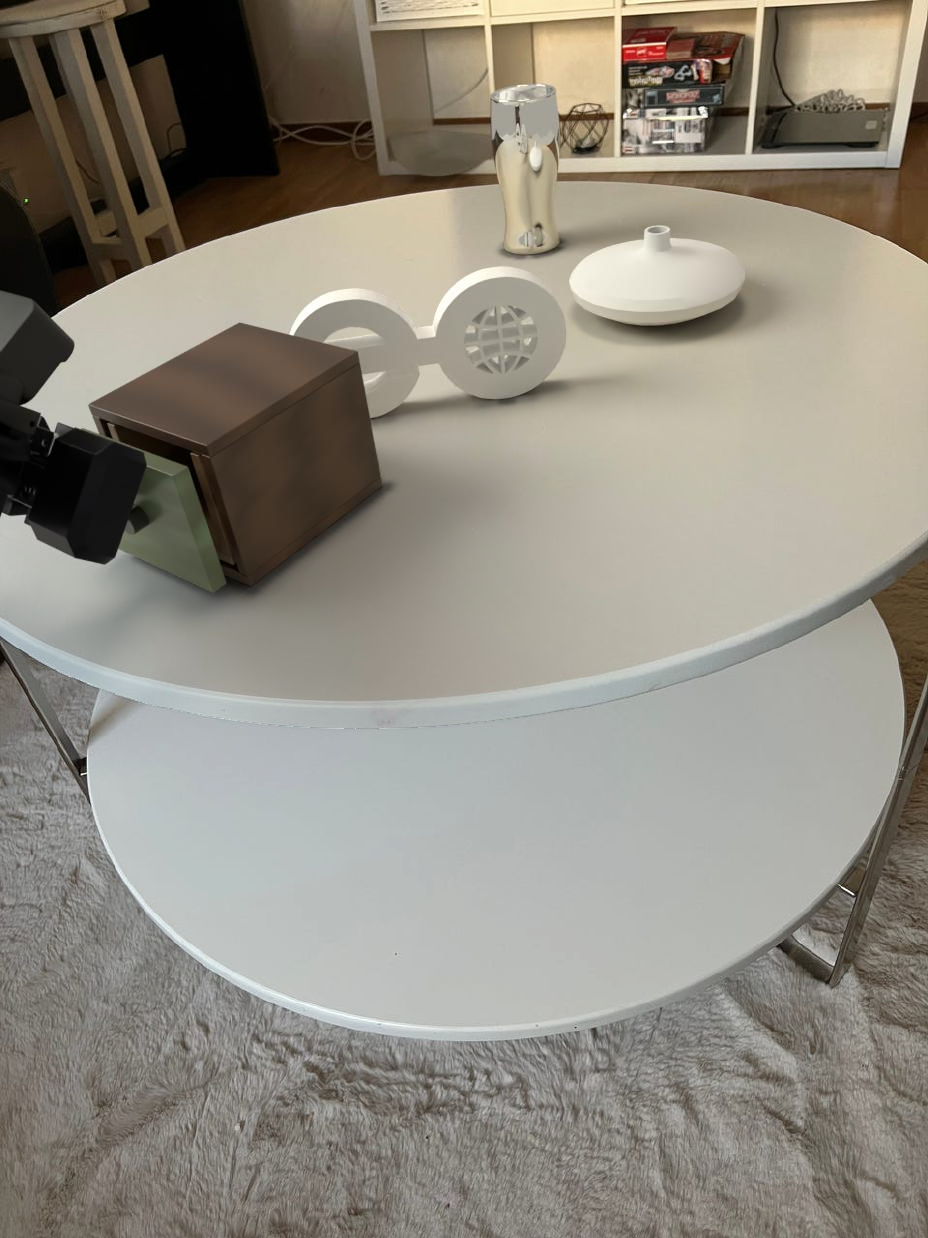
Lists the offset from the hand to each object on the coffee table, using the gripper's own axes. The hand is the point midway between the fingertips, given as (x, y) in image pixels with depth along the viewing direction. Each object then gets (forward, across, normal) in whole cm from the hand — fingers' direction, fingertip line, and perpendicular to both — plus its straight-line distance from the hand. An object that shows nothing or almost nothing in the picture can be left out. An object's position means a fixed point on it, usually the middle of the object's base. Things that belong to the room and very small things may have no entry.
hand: (129, 498), depth 61 cm
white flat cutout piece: (+25, -2, -15) cm, 29 cm away
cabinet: (+12, 0, -2) cm, 12 cm away
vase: (+42, -9, -32) cm, 53 cm away
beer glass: (+48, +11, -38) cm, 63 cm away
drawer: (+8, 0, 0) cm, 8 cm away
